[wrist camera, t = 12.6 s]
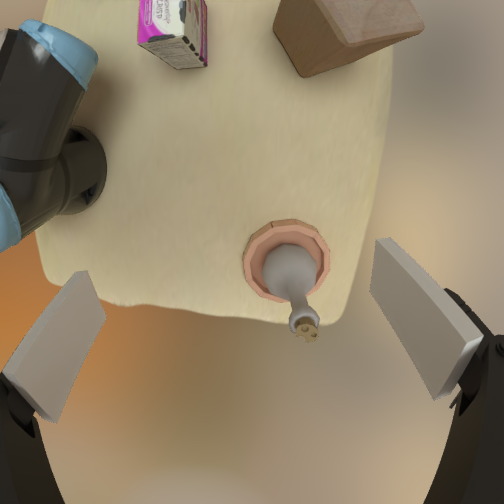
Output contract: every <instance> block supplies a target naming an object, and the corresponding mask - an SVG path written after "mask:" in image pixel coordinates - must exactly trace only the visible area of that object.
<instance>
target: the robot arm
mask: <svg viewBox="0 0 504 504" xmlns="http://www.w3.org/2000/svg"><path fill="white" fill-rule="evenodd" d="M97 63H98V56H97V53H96V51H95V50H94V49H93V48H92V47H91V46H89V45H88V44H86V43H85V42H83V41H81V40H80V39H78V38H76V37H74V36H72V35H71V34H69V33H67V32H65V31H63V30H60V29H58V28H56V27H53V26H49V25H47V24H45V23H42V22H40V21H37V20H33V19H28V20H26V21H24V22H23V23H22V24H21V25H20V27H19V30H12V29H8V28H5V29H3V30H2V31H0V253H1V252H3V251H5V250H6V249H8V248H9V247H11V246H13V245H16V244H18V243H19V242H20V240H22V239H23V238H25V237H26V236H27V235H29V234H30V233H31V232H33V231H34V230H35V229H37V228H38V227H40V226H41V225H42V224H44V223H45V222H47V221H48V220H50V219H51V218H53V217H54V216H56V215H71V214H76V213H79V212H81V211H83V210H84V209H86V208H87V207H89V206H90V205H92V204H93V203H94V202H95V201H96V200H97V198H98V197H99V196H100V194H101V192H102V190H103V187H104V184H105V180H106V173H107V165H106V157H105V153H104V150H103V148H102V146H101V144H100V142H99V140H98V139H97V138H96V136H95V135H94V134H93V133H91V132H90V131H89V130H87V129H85V128H83V127H79V126H70V125H71V122H72V120H73V117H74V115H75V113H76V110H77V108H78V106H79V104H80V101H81V99H82V97H83V95H84V93H85V92H87V90H88V83H89V81H90V79H91V77H92V75H93V73H94V70H95V68H96V66H97ZM370 293H371V295H372V296H373V298H374V299H375V301H376V302H377V304H378V305H379V307H380V308H381V310H382V312H383V313H384V315H385V316H386V318H387V320H388V321H389V323H390V324H391V326H392V328H393V329H394V331H395V332H396V334H397V336H398V338H399V339H400V341H401V342H402V344H403V346H404V348H405V349H406V351H407V353H408V354H409V356H410V358H411V360H412V361H413V363H414V365H415V367H416V369H417V370H418V372H419V374H420V376H421V378H422V379H423V381H424V383H425V385H426V387H427V389H428V391H429V393H430V394H431V396H432V398H433V400H434V401H435V400H437V399H439V398H442V397H444V396H446V395H448V394H450V393H451V392H452V390H453V389H454V388H455V386H456V384H457V383H458V384H459V386H460V387H461V390H460V392H459V393H458V395H457V396H456V397H455V399H454V400H453V402H452V403H451V405H450V408H451V409H452V407H453V406H454V405H455V404H456V408H455V412H454V416H453V421H452V425H451V428H450V432H449V436H448V439H447V442H446V446H445V449H444V452H443V455H442V458H441V461H440V464H439V467H438V469H437V472H436V475H435V477H434V480H433V482H432V485H431V487H430V490H429V492H428V494H427V497H426V499H425V501H424V503H423V504H504V335H496V336H494V335H493V334H492V333H491V331H490V330H489V329H488V328H487V327H486V325H485V324H484V323H483V322H482V321H481V320H480V318H479V317H478V316H477V315H476V314H475V313H474V312H473V311H472V310H471V308H470V307H469V306H468V305H466V304H465V302H464V301H463V300H462V299H461V298H460V296H459V295H458V294H456V293H454V292H453V291H451V290H449V289H447V288H445V289H443V288H442V287H441V286H440V285H439V284H438V283H437V282H436V281H435V280H434V279H433V278H432V277H431V276H430V275H429V274H428V273H427V272H426V271H425V270H424V269H423V268H422V267H421V266H420V265H419V264H418V263H417V262H416V261H415V260H414V259H413V258H412V257H411V256H410V255H409V254H408V253H407V252H406V251H405V250H403V249H402V248H401V247H400V246H399V245H398V244H397V243H396V242H395V241H394V240H393V239H392V238H381V239H376V241H375V252H374V261H373V269H372V277H371V284H370ZM106 318H107V316H106V314H105V312H104V310H103V307H102V305H101V303H100V301H99V298H98V296H97V294H96V291H95V289H94V286H93V284H92V281H91V279H90V276H89V274H88V271H80V272H75V273H74V274H73V276H72V277H71V278H70V279H69V280H68V281H67V283H66V284H65V285H64V286H63V287H62V289H61V290H60V291H59V292H58V293H57V295H56V296H55V297H54V298H53V300H52V301H51V302H50V303H49V305H48V306H47V307H46V309H45V310H44V311H43V312H42V314H41V315H40V317H39V318H38V319H37V321H36V322H35V323H34V325H33V326H32V327H31V329H30V330H29V332H28V333H27V334H26V335H25V337H24V338H23V339H22V341H21V342H20V344H19V345H18V347H17V348H16V350H15V352H14V353H13V354H12V356H11V357H10V359H9V361H8V362H7V364H6V365H5V367H4V368H3V370H2V372H1V373H0V504H65V502H64V500H63V498H62V496H61V493H60V491H59V488H58V486H57V483H56V481H55V478H54V475H53V473H52V470H51V467H50V464H49V461H48V458H47V455H46V451H45V448H44V444H43V441H42V437H41V433H40V429H39V425H38V422H37V419H36V418H35V417H34V416H33V414H34V412H35V411H36V412H37V413H38V414H39V415H40V416H41V417H42V418H43V419H44V420H47V421H50V422H53V423H57V422H58V419H59V417H60V415H61V412H62V409H63V407H64V405H65V403H66V400H67V398H68V395H69V393H70V391H71V388H72V386H73V384H74V382H75V380H76V378H77V375H78V373H79V371H80V369H81V367H82V365H83V362H84V361H85V359H86V356H87V355H88V352H89V351H90V348H91V347H92V344H93V342H94V341H95V339H96V337H97V335H98V333H99V331H100V329H101V327H102V325H103V324H104V322H105V319H106ZM456 402H457V403H456Z"/></svg>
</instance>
